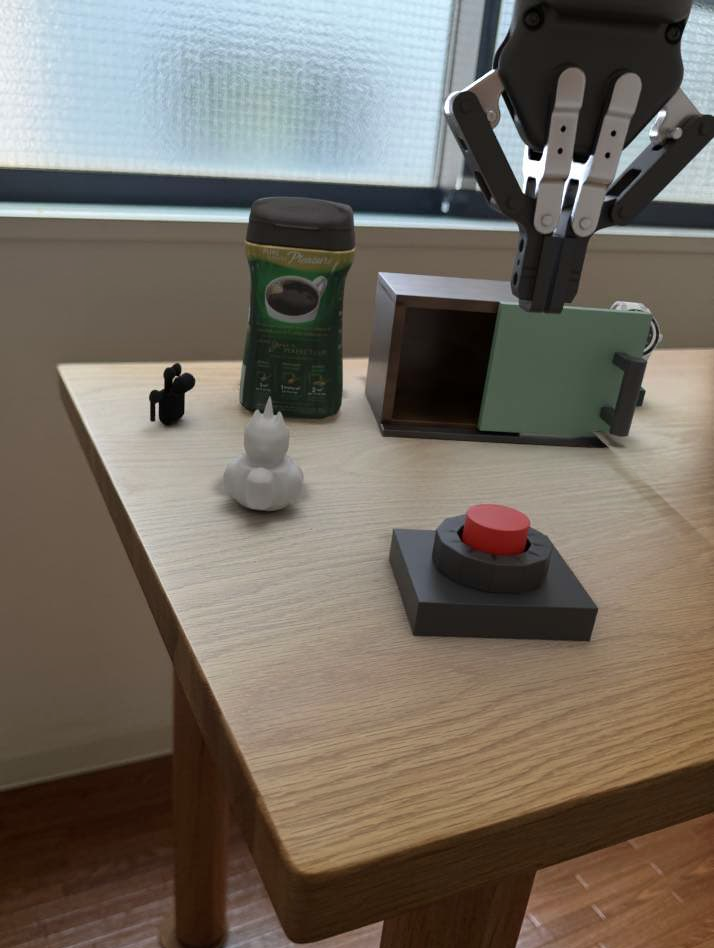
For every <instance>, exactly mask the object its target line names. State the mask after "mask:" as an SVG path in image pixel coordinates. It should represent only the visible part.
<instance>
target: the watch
mask: <svg viewBox="0 0 714 948" xmlns="http://www.w3.org/2000/svg"><path fill="white" fill-rule="evenodd" d="M610 309H614V310H628V311H642V312H649V313H651V314H652V312H651V311H650V309H649V308H648V307H646V306H645V304H643V303H641V302H631V301H620V300H618V301H615V302H614V303H613V304H612V305H611V306H610ZM660 331H661V330H660V326H659V323H658V321H657V320H656V318H655V317H654V316H653V317H652V321H651V325H650V329H649V333H648V337H647V341H646V344H645V348H644V352H643V356H642V359H645V360H647V361H649V359H650V357H651V355H652V353H653V352H654V351H655V349H656V348H657V346H658V345H659V343H662V341H663V337H664V336H663V333H661V332H660ZM646 391H647V390H646V389H645V388H644V387H642V386H641V389H640V392H639V396H638V400H637V404H636V407H641V408H642V407H643V405H644V399H645V396H646Z"/></svg>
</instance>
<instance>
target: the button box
mask: <svg viewBox="0 0 714 948" xmlns="http://www.w3.org/2000/svg"><path fill="white" fill-rule="evenodd" d="M465 518H466V513H463V514H459V515H455V516H451V517H446V518H445V519H444V520H443V521H442V522H441V523H440V524H439V526H438V527H437V528H436V529H415V528H414V529H413V528H392V531H391V532H392V533H391V540H390V547H389V554H388V561H389V563H390V567H391V570H392V573H393V576H394V579H395V583H396V585H397V588H398V592H399V595H400V598H401V601H402V604H403V607H404V610H405V613H406V616H407V620H408V623H409V627H410V630H411V633H412V636H414V637H435V638H436V637H439V638H464V639H465V638H466V639H468V638H469V639H471V638H472V639H495V640H496V639H497V640H498V639H500V640H502V639H503V640H528V641H529V640H533V641H562V642H564V641H565V642H591V638H592V634H593V631H594V627H595V623H596V621H597V620H596V619H597V616H598V613H599V607H598V606H597V604H596V603H595V601H594V600H593V599H592V596H591V595H590V594H589V593H588V591H587V590H586V589H585V587H584V586H583V584H582V583H581V581H580V580H579V578H578V577H577V576H576V574H575V572H574V571H573V570H572V568H571V567H570V566H569V565H568V563H567V562H566V560H565V559H564V557H563V556H562V555H561V553H560V552H559V550H558V549H557V548H556V546H555V545H554V543H553V542H552V540H551V539H550V538H549V536H548V535H547V534H544V533H543V532H541V531H539V530H537V529H535V528H534V527H532V526H530V527H529V532H528V536H527V541H526V545H525V550H524V552H523V553H521V554H517V555H514V556H509V555H493V554H489V553H485V552H482V551H478V550H475V549H473V548H471V547H470V546H468V545H466V544H465V543H463V542H462V535H463V530H464V524H465Z"/></svg>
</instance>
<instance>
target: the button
mask: <svg viewBox="0 0 714 948" xmlns="http://www.w3.org/2000/svg"><path fill="white" fill-rule="evenodd" d="M465 514H466V518H465V524H464V530H463V535H462V542H463V543H465V544H466V545H468V546H470V547H471V548H473V549H475V550H478V551H482V552H485V553H489V554H493V555H509V556H514V555H517V554H521V553H523V552H524V550H525V545H526V541H527V536H528V532H529V527H531V520H530V518H529V517H528V515H526V514H525V513H523V512H522V511H520V510H518V509H515V508H513V507H509V506H505V505H501V504H493V503H480V504H475V505H473V506H470V507H469V508H468V509H467V511H466V513H465Z"/></svg>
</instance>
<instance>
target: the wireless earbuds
mask: <svg viewBox="0 0 714 948" xmlns="http://www.w3.org/2000/svg"><path fill="white" fill-rule="evenodd" d="M182 371H183V369H182V365H181V364H180V363H179V362H176V363H173V364H172V366H167V367H166V368H165V369H164V371H163V373H162V377H163V382H164V383H163V388H162V389H161V390H158V389H152V390H151V391H150V393H148V394H149V395H148V401H149V421H150V422H151V423H155V422H156V404H158V420H159V422H160V423H161V424H163V425H165V426H170V425H172V424H174V423H176V422H178V421H179V420H180V419H182V418H183V417H184V415H185V412H186V411H185V408H186V407H185V406H186V393H188V392H189V391H191V390H192V389H194V388H195V386H196V378H195V376H194V375H193V374H192V373H189V372H184V373H182Z"/></svg>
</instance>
